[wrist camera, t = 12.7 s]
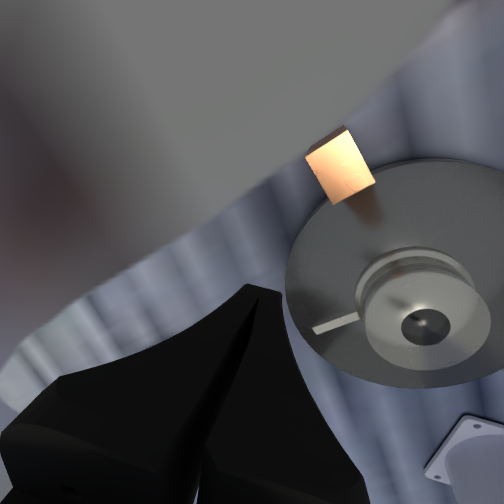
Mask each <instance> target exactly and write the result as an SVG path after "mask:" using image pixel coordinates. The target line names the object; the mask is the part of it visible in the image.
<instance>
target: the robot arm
mask: <svg viewBox="0 0 504 504" xmlns="http://www.w3.org/2000/svg"><path fill="white" fill-rule="evenodd" d="M0 453H1V457H2V460H3V462H4V465H5V468H6V470H7V473H8V475H9V478H10V481H11V483H12V486H13V488H12V489H11V491H10V492H9V493H8V494H7V495H6V497H5V498H4V499H3V500H2V501H1V503H0V504H193V503H194V500H195V496H196V493H197V490H198V487H199V490H198V498H197V504H370V500H369V496H368V492H367V488H366V485H365V481H364V478H363V476H362V474H361V473H360V471H359V470H358V469H357V467H356V466H355V465H354V463H353V462H352V460H351V459H350V458H349V456H348V455H347V453H346V452H345V451H344V449H343V448H342V446H341V445H340V443H339V442H338V440H337V439H336V437H335V435H334V434H333V432H332V431H331V429H330V427H329V426H328V424H327V423H326V421H325V419H324V418H323V416H322V414H321V412H320V410H319V408H318V407H317V405H316V403H315V401H314V399H313V397H312V396H311V394H310V392H309V390H308V388H307V386H306V383H305V381H304V379H303V377H302V375H301V372H300V370H299V367H298V365H297V362H296V360H295V357H294V354H293V351H292V348H291V345H290V342H289V338H288V334H287V330H286V326H285V321H284V316H283V309H282V294H281V292H278V291H274V290H270V289H266V288H263V287H259V286H255V285H251V284H245V285H244V286H243V287H242V288H241V289H240V290H238V291H237V292H236V293H235V294H234V295H233V296H232V297H231V298H229V299H228V300H227V301H226V302H224V303H223V304H222V305H221V306H219V307H218V308H217V309H216V310H214V311H213V312H212V313H210V314H209V315H207V316H206V317H204V318H203V319H201V320H200V321H198V322H197V323H195V324H194V325H192V326H190V327H189V328H187V329H185V330H184V331H182V332H180V333H178V334H177V335H175V336H173V337H171V338H169V339H167V340H165V341H163V342H161V343H159V344H156V345H154V346H152V347H150V348H147V349H145V350H143V351H140V352H138V353H135V354H133V355H130V356H127V357H124V358H121V359H119V360H116V361H113V362H110V363H107V364H103V365H100V366H97V367H93V368H89V369H86V370H82V371H78V372H75V373H71V374H67V375H63V376H59V377H58V378H57V379H56V380H55V381H54V382H53V383H51V384H50V385H49V386H48V387H47V388H46V389H44V390H43V391H42V392H41V393H40V394H39V395H38V396H37V397H36V398H35V399H34V400H33V401H32V402H31V403H30V404H29V405H28V406H27V407H26V408H25V409H24V410H23V411H22V412H21V413H20V414H19V415H18V416H17V417H16V418H15V419H14V420H13V421H12V422H11V423H10V424H9V425H8V426H7V427H6V428H5V429H4V430H3V431H2V432H1V436H0ZM424 473H425V476H426V477H428V478H430V479H433V480H436V481H439V482H442V483H446V484H449V485H451V487H452V490H453V493H454V496H455V499H456V502H457V504H504V425H501V424H498V423H494V422H491V421H487V420H484V419H480V418H477V417H473V416H469V415H467V416H463V417H462V418H461V419H460V421H459V422H458V424H457V425H456V426H455V428H454V429H453V430H452V432H451V433H450V435H449V436H448V437H447V439H446V440H445V441H444V443H443V444H442V446H441V447H440V448H439V450H438V451H437V453H436V454H435V455H434V457H433V458H432V459H431V461H430V462H429V464H428V465H427V466H426V468H425V469H424Z"/></svg>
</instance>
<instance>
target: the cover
mask: <svg viewBox="0 0 504 504" xmlns="http://www.w3.org/2000/svg"><path fill="white" fill-rule="evenodd" d="M354 300H355V306H356V311H357V314H358V316H359V318H360V320H361V321H362V323H363V324H364V325H365V330H366V335H367V338H368V341H369V343H370V344H371V346H372V347H373V349H374V350H375V351H376V352H377V353H378V354H379V355H380V356H381V357H382V358H384V359H385V360H387V361H389V362H390V363H393V364H395V365H397V366H400V367H403V368H408V369H413V370H436V369H442V368H446V367H450V366H453V365H456V364H458V363H460V362H462V361H464V360H466V359H467V358H469V357H470V356H472V355H473V354H474V353H475V352H476V351H477V350H479V349H480V347H481V346H482V345H483V344H484V342H485V340H486V339H487V337H488V334H489V331H490V326H491V317H490V312H489V309H488V307H487V305H486V303H485V301H484V300H483V299H482V298H481V296H480V295H479V294H478V293H477V292H476V291H475V286H474V283H473V280H472V278H471V276H470V275H469V273H468V272H467V270H466V269H465V268H464V267H463V266H462V265H461V264H460V263H459V262H458V261H457V260H456V259H455V258H454V257H452V256H450V255H449V254H447V253H445V252H443V251H440V250H437V249H434V248H429V247H419V246H414V247H404V248H399V249H395V250H392V251H389V252H387V253H385V254H383V255H381V256H379V257H378V258H376V259H375V260H373V261H372V262H371V263H370V264H369V265H367V267H366V268H365V269H364V270H363V271H362V273H361V274H360V276H359V278H358V280H357V282H356V286H355V291H354Z"/></svg>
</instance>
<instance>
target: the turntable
mask: <svg viewBox="0 0 504 504" xmlns="http://www.w3.org/2000/svg"><path fill="white" fill-rule="evenodd" d="M305 158H306V160H307V161H308V163H309V165H310V167H311V168H312V170H313V172H314V173H315V175H316V177H317V178H318V180H319V182H320V184H321V185H322V187H323V189H324V190H325V192H326V194H327V196H328V197H326V198H325V199H324V200H323V201H322V202H321V203H320V204H319V205H318V206H317V207H316V208H315V209H314V210H313V211H312V212H311V214H310V215H309V216H308V218H307V219H306V221H305V222H304V224H303V225H302V227H301V228H300V230H299V232H298V234H297V236H296V238H295V241H294V243H293V246H292V249H291V252H290V256H289V259H288V264H287V269H286V277H285V291H286V300H287V304H288V308H289V311H290V314H291V317H292V319H293V321H294V323H295V325H296V327H297V329H298V330H299V332H300V334H301V335H302V337H303V338H304V339H305V340H306V342H307V343H308V344H309V345H310V346H311V347H312V348H313V349H314V350H315V351H316V352H317V353H318V354H319V355H320V356H321V357H323V358H324V359H325V360H327V361H328V362H329V363H331V364H332V365H334V366H336V367H337V368H339V369H341V370H342V371H344V372H347V373H349V374H351V375H353V376H355V377H358V378H361V379H364V380H366V381H369V382H373V383H377V384H381V385H386V386H393V387H400V388H414V389H415V388H437V387H447V386H452V385H457V384H462V383H466V382H470V381H473V380H477V379H480V378H482V377H485V376H487V375H490V374H493V373H495V372H497V371H499V370H501V369H503V368H504V173H503V172H500V171H498V170H495V169H492V168H490V167H487V166H483V165H480V164H476V163H473V162H469V161H462V160H455V159H447V158H424V159H415V160H406V161H402V162H397V163H393V164H388V165H385V166H382V167H379V168H376V169H374V170H371V171H369V169H368V167H367V165H366V163H365V162H364V160H363V158H362V156H361V154H360V152H359V150H358V148H357V147H356V145H355V143H354V141H353V139H352V137H351V135H350V134H349V132H348V130H347V129H346V127H345V126H344V125H343V126H342V127H340V128H339V129H337V130H335V131H334V132H332V133H331V134H329V135H328V136H326V137H325V138H323V139H322V140H320V141H319V142H317V143H316V144H314V145H312V146H311V147H310V148H309V150H308V153H307V155H306V157H305ZM414 246H419V247H429V248H434V249H437V250H440V251H443V252H445V253H447V254H449V255H450V256H452V257H454V258H455V259H456V260H457V261H458V262H459V263H460V264H461V265H462V266H463V267H464V268H465V269H466V270H467V272H468V273H469V275H470V276H471V278H472V280H473V283H474V286H475V291H476V292H477V293H478V294H479V295H480V296H481V298H482V299H483V300H484V301H485V303H486V305H487V307H488V309H489V312H490V317H491V326H490V331H489V334H488V337H487V339H486V340H485V342H484V344H483V345H482V346H481V347H480V349H479V350H477V351H476V352H475V353H474V354H473V355H472V356H470V357H469V358H467V359H466V360H464V361H462V362H460V363H458V364H456V365H453V366H450V367H446V368H442V369H436V370H413V369H408V368H403V367H400V366H397V365H395V364H393V363H390V362H389V361H387V360H385V359H384V358H382V357H381V356H380V355H379V354H378V353H377V352H376V351H375V350H374V349H373V347H372V346H371V344H370V343H369V341H368V338H367V335H366V330H365V325H364V324H363V323H362V321H361V320H360V318H359V316H358V314H357V311H356V306H355V300H354V291H355V286H356V282H357V280H358V278H359V276H360V274H361V273H362V271H363V270H364V269H365V268H366V267H367V265H369V264H370V263H371V262H372V261H373V260H375V259H376V258H378V257H379V256H381V255H383V254H385V253H387V252H389V251H392V250H395V249H399V248H404V247H414Z"/></svg>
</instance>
